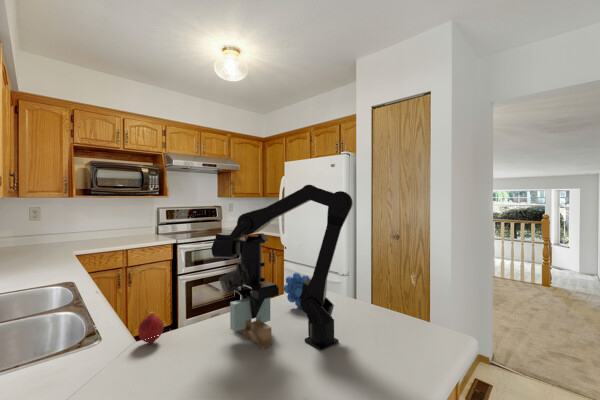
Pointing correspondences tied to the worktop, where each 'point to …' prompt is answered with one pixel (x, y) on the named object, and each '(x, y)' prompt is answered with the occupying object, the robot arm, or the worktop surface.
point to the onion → (150, 328)
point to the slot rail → (258, 332)
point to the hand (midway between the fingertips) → (251, 316)
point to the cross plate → (247, 313)
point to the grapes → (295, 288)
